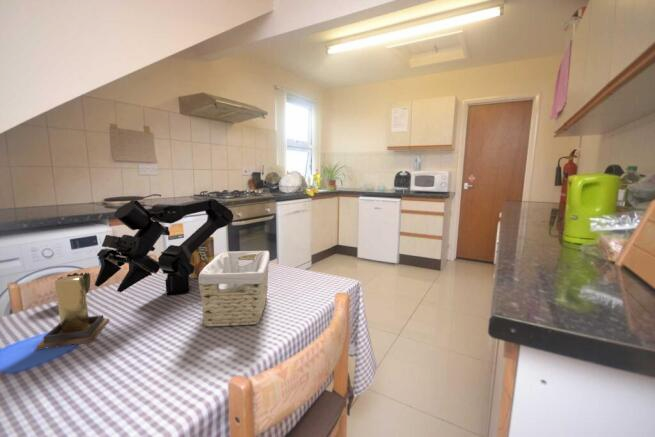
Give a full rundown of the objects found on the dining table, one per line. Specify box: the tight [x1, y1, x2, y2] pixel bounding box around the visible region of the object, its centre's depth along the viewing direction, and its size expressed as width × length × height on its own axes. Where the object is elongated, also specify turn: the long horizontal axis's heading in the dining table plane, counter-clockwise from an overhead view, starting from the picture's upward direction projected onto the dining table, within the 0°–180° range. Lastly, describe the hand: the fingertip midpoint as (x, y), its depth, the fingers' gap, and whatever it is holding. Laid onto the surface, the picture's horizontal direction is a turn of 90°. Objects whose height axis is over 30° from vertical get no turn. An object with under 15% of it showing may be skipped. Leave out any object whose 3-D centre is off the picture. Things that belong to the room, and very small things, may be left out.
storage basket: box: [198, 250, 271, 327], centre depth 82 cm, size 24×16×15 cm
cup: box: [57, 272, 91, 295], centre depth 85 cm, size 8×7×8 cm
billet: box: [54, 276, 90, 333], centre depth 67 cm, size 5×5×13 cm
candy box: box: [189, 235, 215, 279], centre depth 109 cm, size 9×4×15 cm, turn 116°
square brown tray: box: [36, 314, 110, 350], centre depth 68 cm, size 10×10×2 cm
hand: (107, 288), depth 74 cm, fingers open, 9 cm apart
